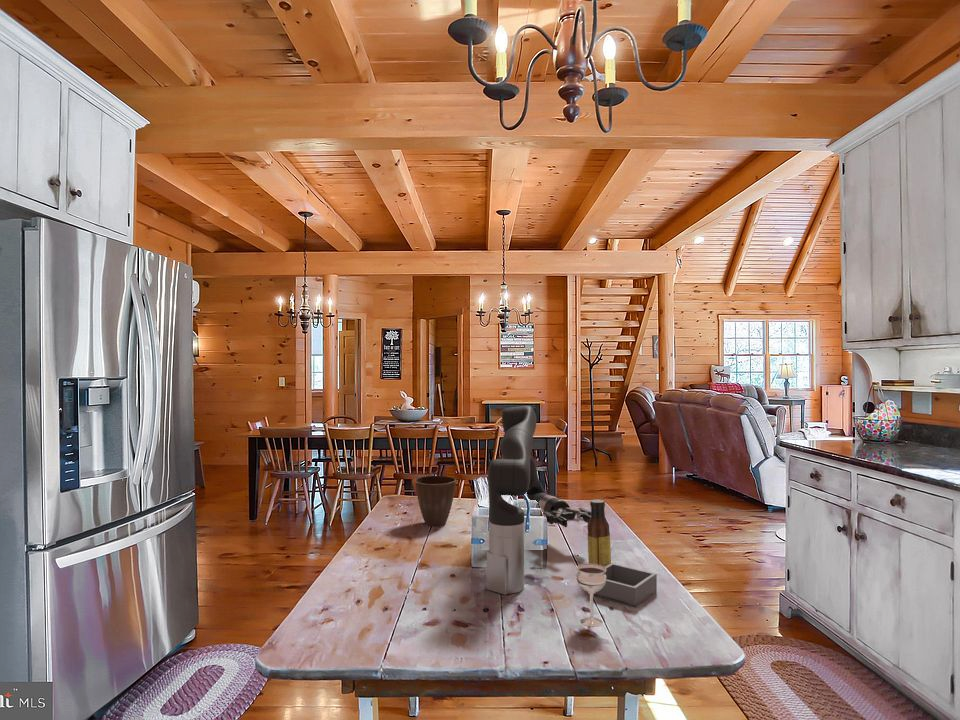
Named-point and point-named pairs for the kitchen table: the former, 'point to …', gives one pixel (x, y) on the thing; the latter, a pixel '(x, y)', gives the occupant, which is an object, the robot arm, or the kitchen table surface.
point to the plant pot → (435, 498)
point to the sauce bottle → (598, 535)
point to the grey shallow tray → (627, 585)
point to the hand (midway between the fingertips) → (579, 521)
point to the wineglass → (591, 587)
